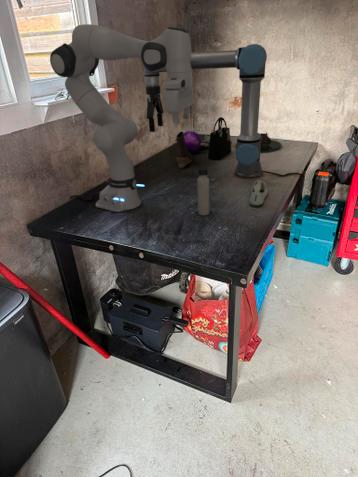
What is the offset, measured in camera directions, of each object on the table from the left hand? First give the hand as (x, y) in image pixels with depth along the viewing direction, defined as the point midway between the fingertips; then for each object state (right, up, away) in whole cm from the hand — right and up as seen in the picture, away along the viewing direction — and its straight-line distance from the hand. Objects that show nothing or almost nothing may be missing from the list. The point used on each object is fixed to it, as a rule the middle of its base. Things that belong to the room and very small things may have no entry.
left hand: (182, 121), depth 124 cm
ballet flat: (+38, -24, +37) cm, 58 cm away
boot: (+3, +5, +90) cm, 90 cm away
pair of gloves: (+21, +28, +128) cm, 132 cm away
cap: (+9, -15, +15) cm, 23 cm away
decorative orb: (+7, +17, +110) cm, 111 cm away
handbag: (+27, +12, +100) cm, 104 cm away
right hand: (-13, +15, +54) cm, 57 cm away
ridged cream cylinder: (+10, -33, +25) cm, 42 cm away
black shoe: (+56, +23, +116) cm, 131 cm away
